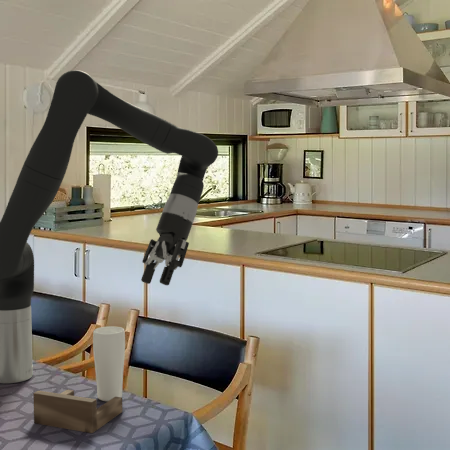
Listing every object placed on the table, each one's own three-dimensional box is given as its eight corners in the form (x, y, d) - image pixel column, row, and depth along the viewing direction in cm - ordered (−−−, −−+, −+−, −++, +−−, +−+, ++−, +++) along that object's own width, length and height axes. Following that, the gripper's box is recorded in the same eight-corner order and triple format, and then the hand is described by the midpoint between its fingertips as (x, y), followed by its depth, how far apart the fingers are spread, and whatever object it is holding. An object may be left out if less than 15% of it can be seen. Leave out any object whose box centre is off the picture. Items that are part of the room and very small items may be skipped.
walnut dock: (67, 403, 129) (67, 375, 129) (122, 411, 125) (122, 383, 124) (34, 423, 119) (33, 393, 118) (92, 433, 114) (91, 402, 114)
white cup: (101, 405, 128) (100, 335, 127) (89, 396, 133) (88, 328, 132) (130, 399, 132) (130, 331, 130) (118, 390, 137) (117, 324, 136)
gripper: (149, 212, 145) (126, 276, 141) (180, 209, 133) (156, 278, 129) (174, 225, 149) (152, 287, 145) (207, 222, 137) (184, 290, 133)
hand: (154, 283), depth 137 cm, fingers open, 8 cm apart
